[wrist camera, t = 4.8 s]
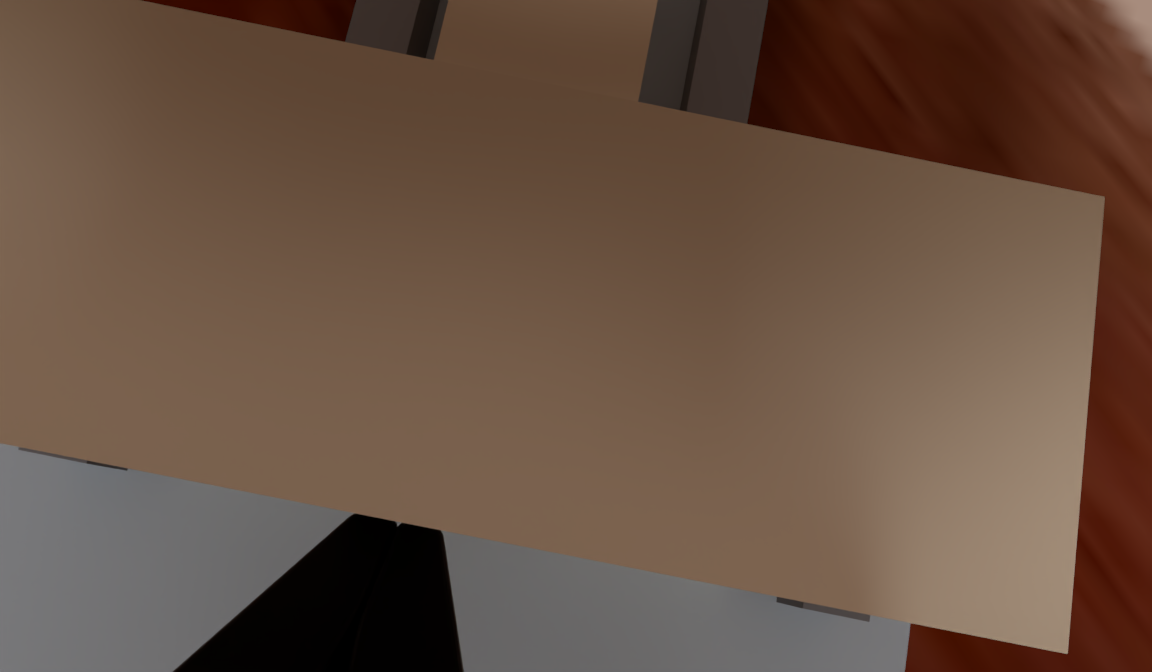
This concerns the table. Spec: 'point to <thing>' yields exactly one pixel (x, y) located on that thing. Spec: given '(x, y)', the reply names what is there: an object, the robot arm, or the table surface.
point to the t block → (544, 307)
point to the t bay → (476, 566)
